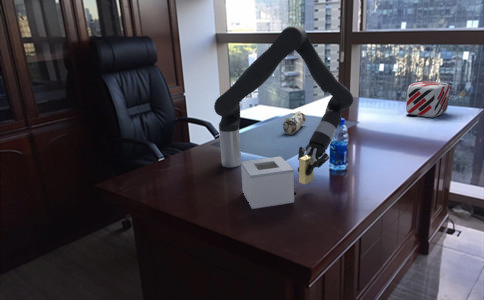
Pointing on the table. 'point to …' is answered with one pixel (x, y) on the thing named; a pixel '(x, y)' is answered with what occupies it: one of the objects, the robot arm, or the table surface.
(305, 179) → the tan rectangular block
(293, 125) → the pencil case
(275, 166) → the box
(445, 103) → the decorative cube
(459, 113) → the table surface
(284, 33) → the robot arm
